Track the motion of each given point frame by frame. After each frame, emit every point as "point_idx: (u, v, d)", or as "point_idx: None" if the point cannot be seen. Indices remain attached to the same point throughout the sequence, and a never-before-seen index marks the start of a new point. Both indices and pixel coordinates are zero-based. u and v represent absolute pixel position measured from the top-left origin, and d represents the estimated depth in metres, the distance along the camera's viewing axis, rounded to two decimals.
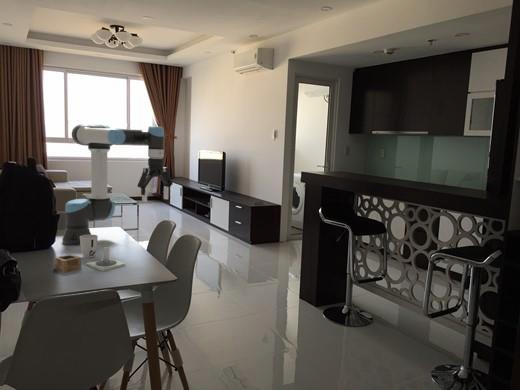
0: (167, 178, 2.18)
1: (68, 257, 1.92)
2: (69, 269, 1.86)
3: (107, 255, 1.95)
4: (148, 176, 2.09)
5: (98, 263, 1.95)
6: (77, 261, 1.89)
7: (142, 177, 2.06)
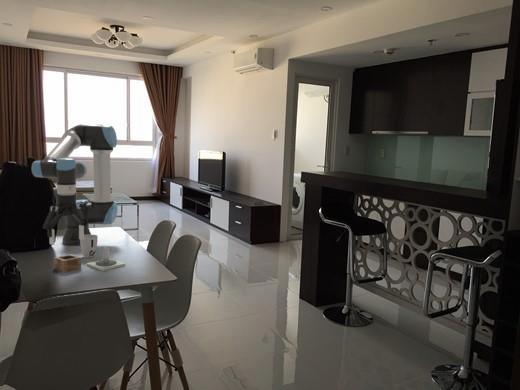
0: (82, 216, 1.93)
1: (68, 257, 1.92)
2: (69, 269, 1.86)
3: (107, 255, 1.95)
4: (57, 215, 1.84)
5: (98, 263, 1.95)
6: (77, 261, 1.89)
7: (48, 217, 1.80)
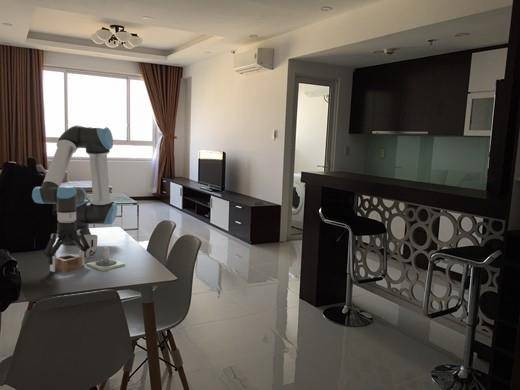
0: (83, 241, 1.94)
1: (68, 257, 1.92)
2: (69, 269, 1.86)
3: (107, 255, 1.95)
4: (57, 242, 1.85)
5: (98, 263, 1.95)
6: (77, 261, 1.89)
7: (49, 245, 1.82)
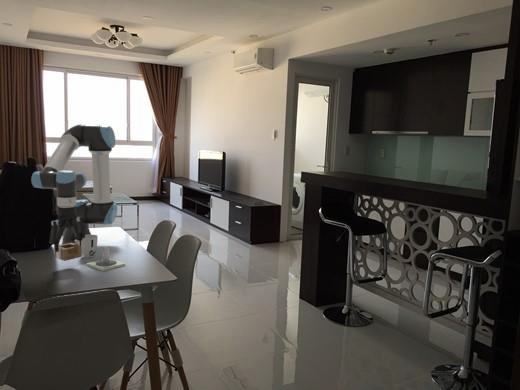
0: (80, 229, 1.93)
1: (68, 246, 1.92)
2: (69, 258, 1.86)
3: (107, 255, 1.95)
4: (59, 229, 1.85)
5: (98, 263, 1.95)
6: (77, 250, 1.89)
7: (52, 232, 1.83)
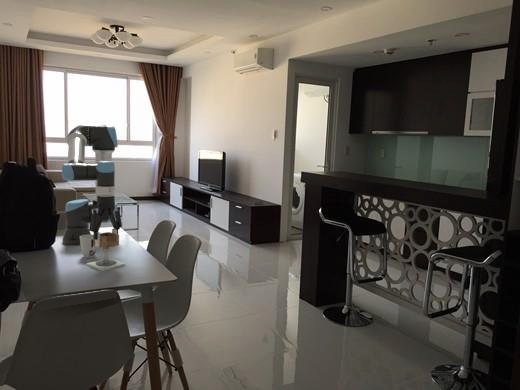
0: (117, 219, 1.98)
1: (106, 235, 1.97)
2: (108, 245, 1.91)
3: (107, 255, 1.95)
4: (98, 217, 1.91)
5: (98, 263, 1.95)
6: (115, 238, 1.94)
7: (92, 220, 1.88)
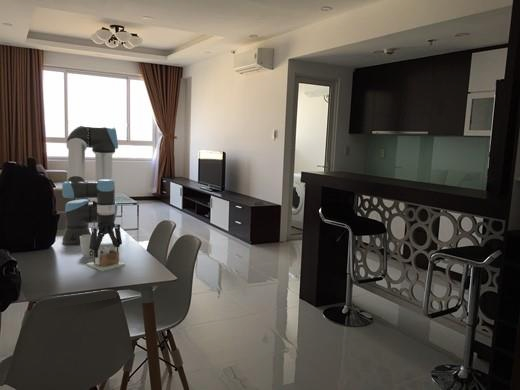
0: (117, 236, 1.99)
1: None
2: (108, 263, 1.93)
3: None
4: (99, 235, 1.92)
5: None
6: (115, 256, 1.95)
7: (92, 238, 1.89)
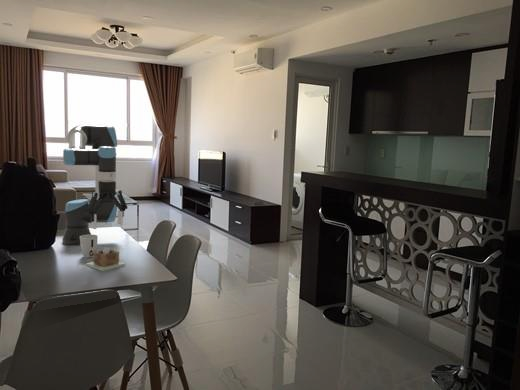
0: (121, 202, 2.01)
1: None
2: (108, 263, 1.93)
3: None
4: (98, 201, 1.92)
5: None
6: (115, 256, 1.95)
7: (91, 202, 1.89)
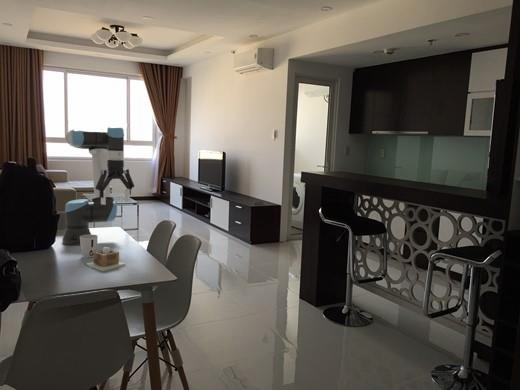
0: (128, 180, 2.13)
1: None
2: (108, 263, 1.93)
3: None
4: (107, 178, 2.04)
5: None
6: (115, 256, 1.95)
7: (100, 179, 2.00)
